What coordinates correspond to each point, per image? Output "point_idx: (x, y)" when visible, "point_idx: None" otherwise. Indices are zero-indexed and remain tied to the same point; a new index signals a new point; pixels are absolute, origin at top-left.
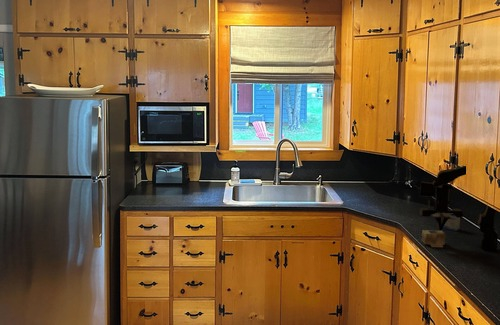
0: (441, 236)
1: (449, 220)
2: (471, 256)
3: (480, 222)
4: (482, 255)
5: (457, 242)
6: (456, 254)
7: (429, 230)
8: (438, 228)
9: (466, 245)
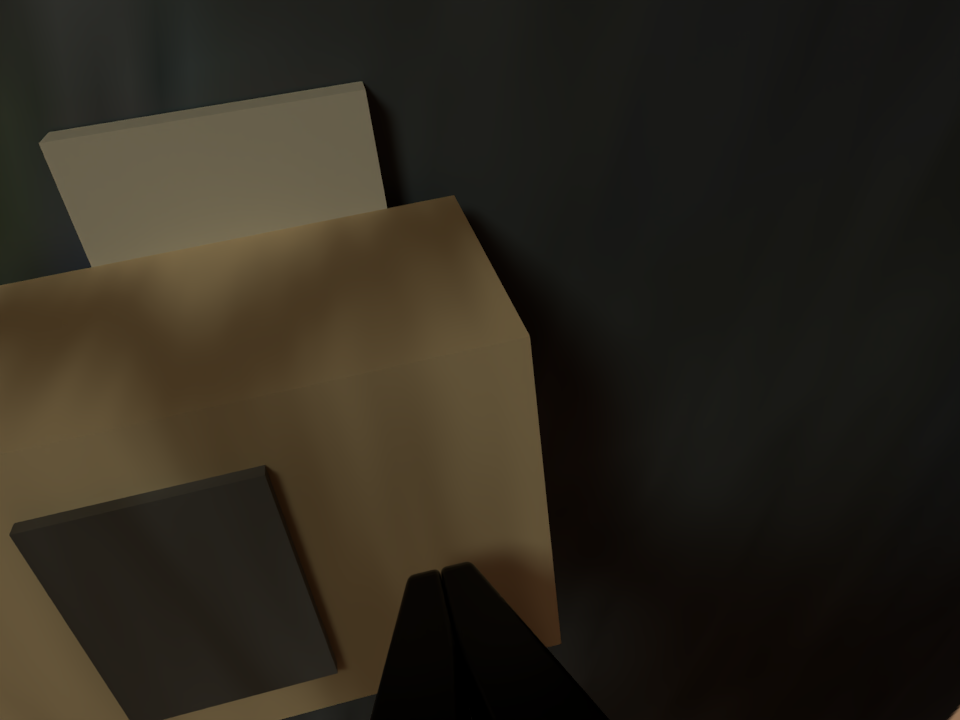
0: None
1: None
2: (752, 703)
3: None
4: (909, 628)
5: (844, 95)
6: None
7: (54, 457)
8: (399, 631)
9: (929, 266)
